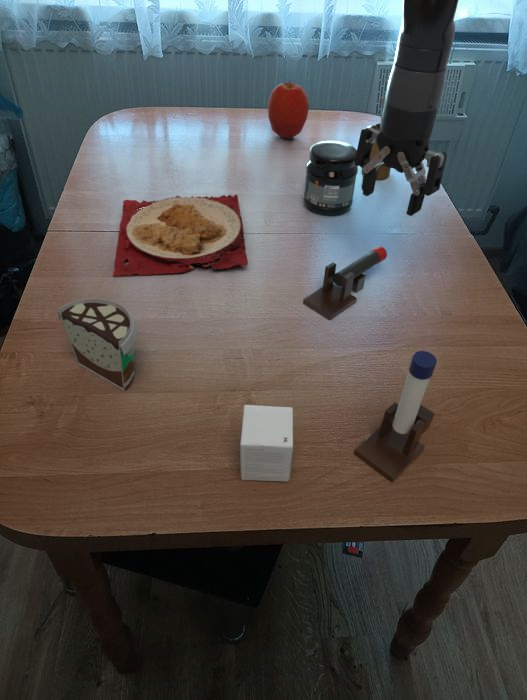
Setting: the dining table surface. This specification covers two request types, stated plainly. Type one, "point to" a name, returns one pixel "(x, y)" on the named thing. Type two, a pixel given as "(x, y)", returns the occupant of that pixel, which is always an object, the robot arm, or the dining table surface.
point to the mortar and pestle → (382, 169)
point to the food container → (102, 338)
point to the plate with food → (180, 235)
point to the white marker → (414, 390)
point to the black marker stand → (334, 294)
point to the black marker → (361, 264)
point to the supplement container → (330, 177)
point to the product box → (266, 443)
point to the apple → (288, 110)
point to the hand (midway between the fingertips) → (389, 203)
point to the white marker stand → (394, 444)
